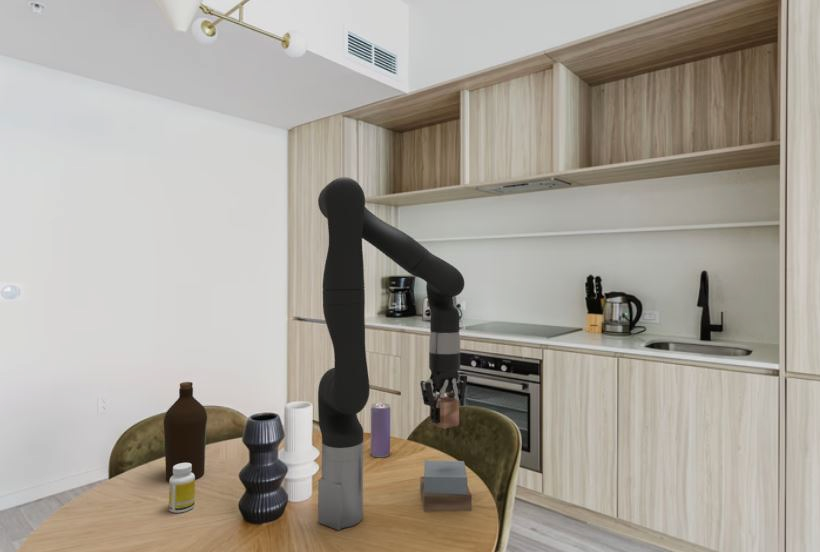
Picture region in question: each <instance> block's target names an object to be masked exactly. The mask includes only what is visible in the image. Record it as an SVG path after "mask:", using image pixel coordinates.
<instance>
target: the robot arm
mask: <svg viewBox="0 0 820 552" xmlns="http://www.w3.org/2000/svg"><path fill="white" fill-rule="evenodd" d="M317 199H318V200H317V201H318V208H319V210H320V212H321V214H322V216H323V217H324V218H326V219H327V230H328V231H327V232H328V246H327V254H326V259H325V264H324V270H323V277H322V312H323V317H324V321H325V323H326V327H327V330H328V333H329V337H330V340H331V344H332V346H333V354H334V367H332V368H330V369H328V370H327V371H325V373H323V375H322V376H321V378H320V381H319V382H318V383H319V384H318V390H317V407H318V410H317V414H318V427H319V430H320V433H321V478H319V479H318V481H317V482H318V488H317V489H318V495H317V496H318V497H317V523H319V524H321V525H324V526H327V527H329V528H331V529H334V530H337V531H340V530H342V529H346V528H350V527H353V526H355V525H358V524H359V523H360V522H361V521H362V520H363V517H364V427H363V425H362V424H361V422H360V420H359V418H358V413H360V412H361V411H362V410H364V409H365V407H366V405H367V404H368V401H369V398H370V379H369V370H368V362H367V361H368V360H367V353H366V352H367V351H366V321H365V320H366V319H365V316H366V314H365V312H366V311H365V307H366V304H365V303H366V300H365V299H366V297H365V295H366V294H365V271H364V270H365V269H364V254H363V240H364V241H366V242H368V243H369V244H370V245H372V246H373V247H375V248H376V249H377V250H379V251H380V252H381V253H382V254H384V255H385V256H386V257H388V258H389V259H390V260H392V261H393V262H394V263H396V264H397V265H398V266H399V267H400V268H402V269H403V270H404V271H406V272H407V273H408V274H410V275H412V276H413V277H416V278H419V279H422V280H423V281H424V282H426V285H425V288H426V296H427V302H428V306H429V307H428V308H429V311H430V312H429V313H430V327H429V328H430V333H429V339H428V340H429V341H428V342H429V344H428V346H429V347H428V348H429V349H428V354H429V356H428V368H429V370H430V376H429V379H427V380H421V381H420V383H419V384H420V388H421V394H422V395H421V396H422V400H423V401H422V402H423V404H424V405H426V406H429V408H430V407H431V420H432V422H433V423H436V424H438V423H440V408H439V407H440V402H441V400H442V399H443V398H444V396H445V395H447V397H450V398H454V399H458V400H459V402H460V401H461V400H462V401H463V400H465V396H466V395H465V393H466V388H467V382H468V376H467V375H465V374H460V373H459V371H460V369H461V337H460V335H461V334H460V312H459V309H457V308H456V307H455V306H454V299H453V297H457V296H459V295H460V294H461V293H462V292H463V290H464V289H465V278H464V276H463V274H462V273H461V272H460V271H459V269H457V267H455V266H453V264H450V263H449V262H447V261H445V260H444V259H442V258H440V257H438V256H437V255H435V254H433V253H432V252H431V251H429V250H428V249H427V248H426V247H424V246H423V245H422V244H421V243H419V242H418V241H417V240H416V239H414V238H413V237H411V236H410V235H408V234H407V233H406V232H405V231H402V230H400V229H399V228H397V227H394V226H393V225H391V224H389V223H388V222H386V221H384V220H382V219H381V218H379V217H378V216H376V215H375V214H374V213H373V212H371V211H370V210H369V209H368V208H367V207H366V197H365V192H364V190H363V188H362V186H361V185H360V184H359V182H357V180H355V179H353V178H351V177H345V176H342V177H338V178H336V179H333V180H332V181H331V182H329V183H328V184H327V185H325V186H324V188H323V189H322V190H321V191H320V193H319V196H318V198H317ZM436 398H437V399H436ZM435 399H436V402H435Z"/></svg>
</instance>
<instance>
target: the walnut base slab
mask: <svg viewBox="0 0 820 552" xmlns="http://www.w3.org/2000/svg"><path fill="white" fill-rule="evenodd" d="M419 483H420V484H419V493H420V497H421V503H422V507H423V512H456V511H457V512H461V511H466V512H467V511H468V512H469V511H472V499H473V498H472V496H473V495H472V493H471V490H470V489H469V486H468V485H467V495H453V494H424V476H420V477H419Z"/></svg>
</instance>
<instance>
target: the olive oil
mask: <svg viewBox="0 0 820 552" xmlns="http://www.w3.org/2000/svg"><path fill="white" fill-rule="evenodd" d="M193 385H194V384H193V382H191V381H183V382H180V383H179V388H178V389H179V391H178V393H179V395H178V399H176V401H174V403H173V404H172V405H170V406H169V408H168V409H167V410H166V412H165V414H164V418H163V435H164V437H163V439H164V452H165V453H164V457H165V462H164V463H165V479H166V481H167V482H169V480H170V478H171V476H173V475H174V474H173V466H175V465H177V464H180V463H191V464H192V471H191V472H192V473H193V474H194V475H195V481H196V480H198V479H200V478H202V476H204V475H205V464H206V463H205V461H206V446H207V445H206V444H207V431H208V430H207V429H208V427H207V426H208V413H207V410H206V409H205V406H204V405H203V404H201V403H200V402H199V401H198V400H197V399H196V398H195V397H194V387H193Z"/></svg>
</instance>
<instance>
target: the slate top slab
mask: <svg viewBox="0 0 820 552" xmlns="http://www.w3.org/2000/svg"><path fill="white" fill-rule="evenodd" d="M423 466H424V467H423V468H424V469H423V470H424V472H423V474H424V476H423V477H424V494H453V495H467V486H468V474H467V469H466V464H465V461H464V460H424V465H423Z"/></svg>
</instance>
